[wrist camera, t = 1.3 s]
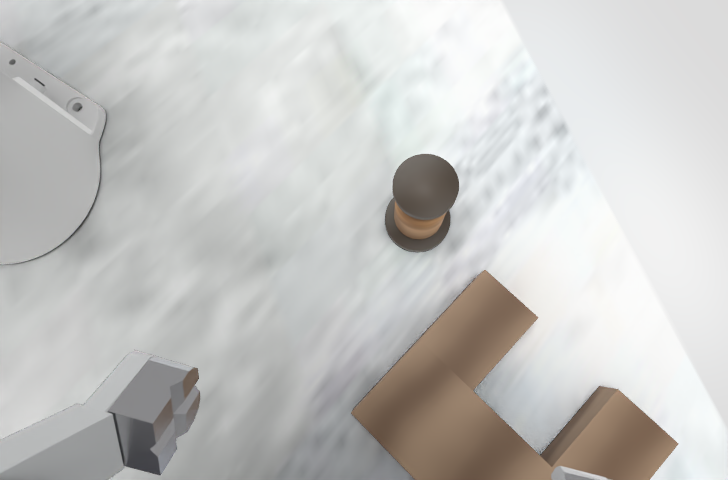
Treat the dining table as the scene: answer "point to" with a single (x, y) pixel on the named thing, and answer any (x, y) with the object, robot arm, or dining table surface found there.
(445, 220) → the bobbin
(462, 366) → the notched board
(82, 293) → the dining table surface
